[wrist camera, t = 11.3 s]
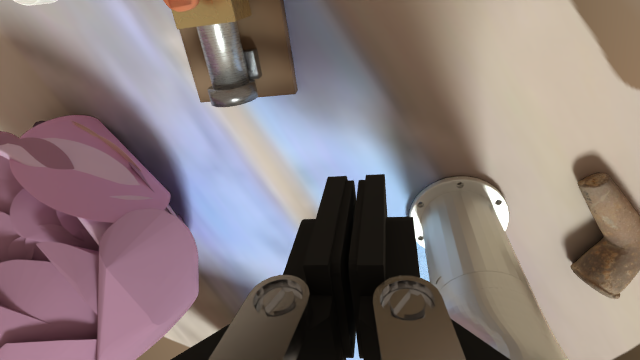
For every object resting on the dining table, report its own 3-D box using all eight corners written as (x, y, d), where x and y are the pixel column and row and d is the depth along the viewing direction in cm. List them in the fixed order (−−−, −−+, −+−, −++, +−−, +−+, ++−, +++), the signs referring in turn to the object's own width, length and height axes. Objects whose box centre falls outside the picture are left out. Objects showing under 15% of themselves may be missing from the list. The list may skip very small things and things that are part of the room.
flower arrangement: (35, 161, 63) (-197, 294, 42) (43, 52, 48) (-315, 172, 26) (205, 283, 67) (73, 463, 45) (262, 218, 52) (104, 441, 30)
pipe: (631, 176, 40) (545, 229, 43) (691, 273, 45) (610, 316, 48) (592, 156, 46) (519, 204, 49) (649, 244, 51) (579, 283, 53)
